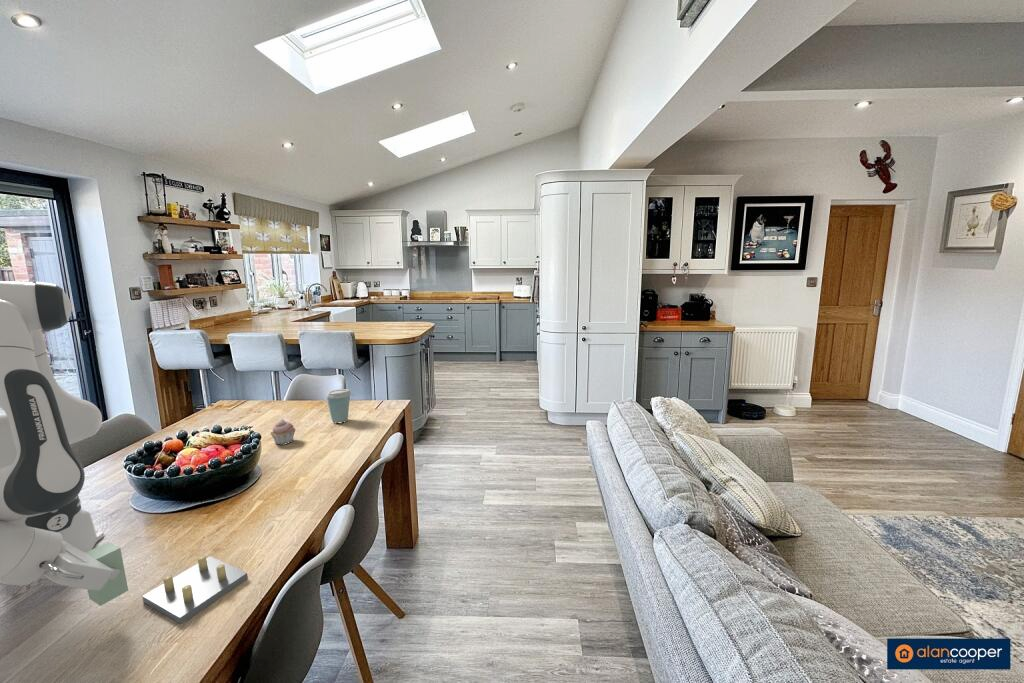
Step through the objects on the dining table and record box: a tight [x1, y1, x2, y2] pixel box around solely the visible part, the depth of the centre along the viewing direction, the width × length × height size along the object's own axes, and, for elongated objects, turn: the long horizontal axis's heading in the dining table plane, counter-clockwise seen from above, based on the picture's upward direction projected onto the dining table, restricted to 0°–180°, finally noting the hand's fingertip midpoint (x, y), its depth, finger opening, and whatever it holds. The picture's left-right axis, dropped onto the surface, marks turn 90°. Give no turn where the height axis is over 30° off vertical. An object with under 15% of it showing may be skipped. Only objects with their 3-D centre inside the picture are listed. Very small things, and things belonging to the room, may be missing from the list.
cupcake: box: [270, 418, 297, 445], centre depth 175 cm, size 9×9×10 cm
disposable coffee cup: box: [325, 388, 352, 424], centre depth 197 cm, size 11×11×15 cm
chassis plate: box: [141, 555, 249, 625], centre depth 95 cm, size 14×14×4 cm
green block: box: [85, 541, 129, 607], centre depth 86 cm, size 4×4×10 cm
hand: (108, 569), depth 87 cm, fingers closed on green block, 4 cm apart
